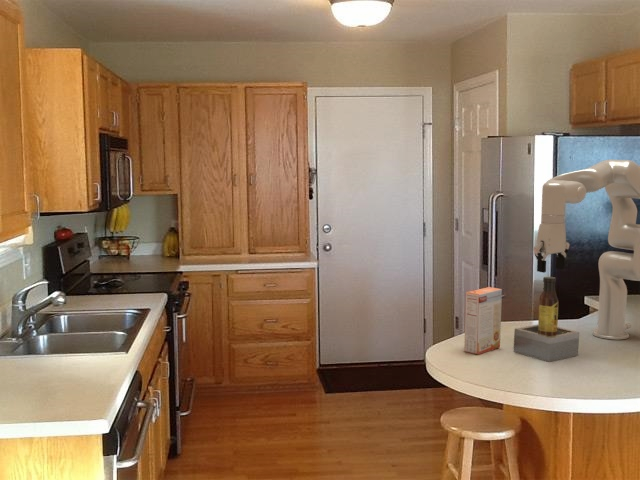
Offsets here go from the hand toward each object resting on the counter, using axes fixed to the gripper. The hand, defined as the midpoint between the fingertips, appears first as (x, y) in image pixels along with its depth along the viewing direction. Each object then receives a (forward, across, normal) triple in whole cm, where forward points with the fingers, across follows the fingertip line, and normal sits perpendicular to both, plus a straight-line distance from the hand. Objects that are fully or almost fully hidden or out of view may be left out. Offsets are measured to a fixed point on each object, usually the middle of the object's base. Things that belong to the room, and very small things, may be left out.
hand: (550, 270), depth 263 cm
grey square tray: (+29, 0, 0) cm, 29 cm away
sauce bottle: (+22, +1, 0) cm, 23 cm away
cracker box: (+28, +16, -15) cm, 36 cm away
